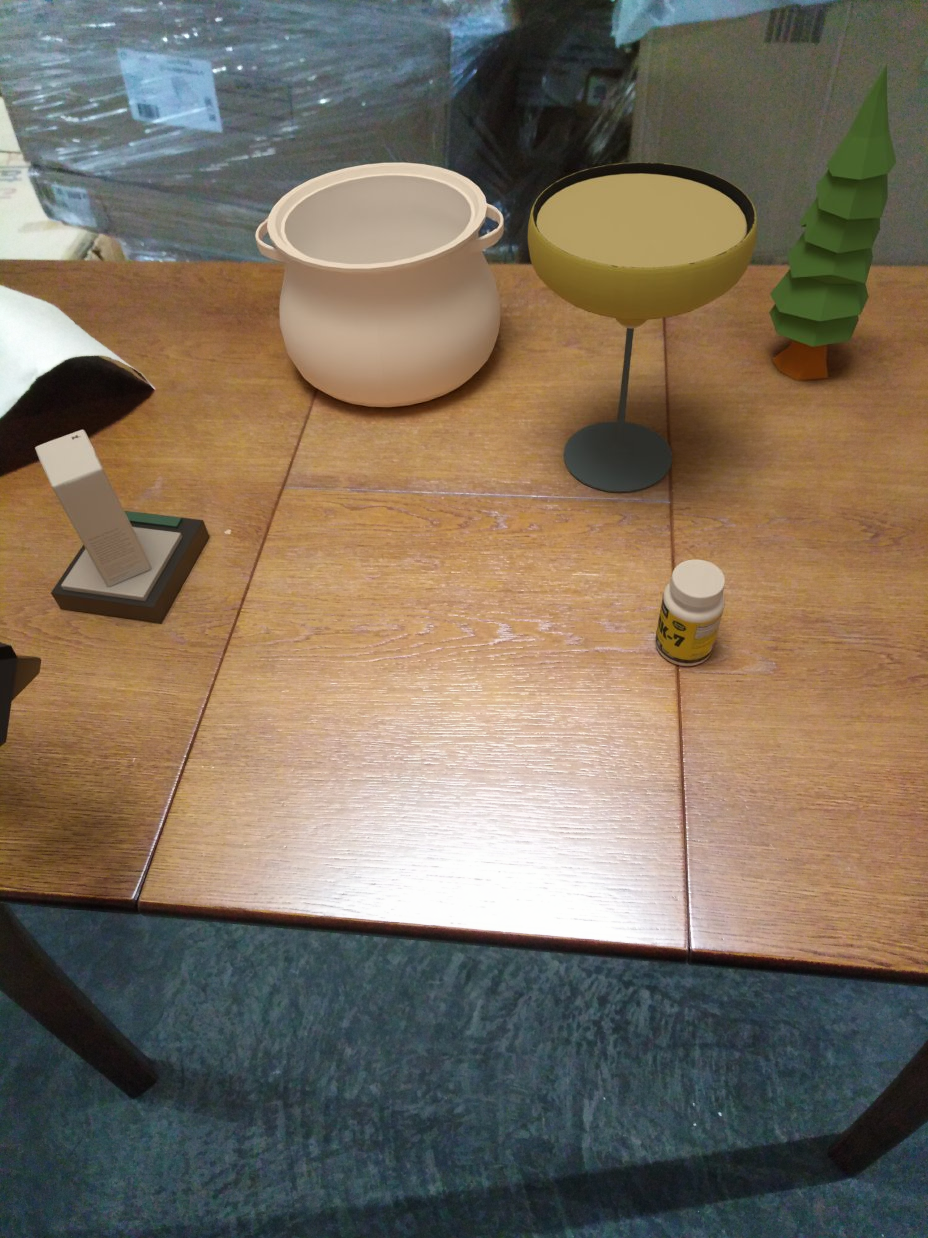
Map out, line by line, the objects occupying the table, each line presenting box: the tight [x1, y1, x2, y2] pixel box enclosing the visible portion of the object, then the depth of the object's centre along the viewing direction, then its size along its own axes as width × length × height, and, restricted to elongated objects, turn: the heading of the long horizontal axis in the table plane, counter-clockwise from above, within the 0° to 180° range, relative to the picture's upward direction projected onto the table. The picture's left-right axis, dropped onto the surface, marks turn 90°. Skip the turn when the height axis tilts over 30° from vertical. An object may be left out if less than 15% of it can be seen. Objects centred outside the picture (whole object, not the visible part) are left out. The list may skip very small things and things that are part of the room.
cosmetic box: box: [34, 429, 151, 587], centre depth 76 cm, size 6×4×12 cm
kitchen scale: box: [50, 510, 210, 624], centre depth 82 cm, size 10×11×3 cm
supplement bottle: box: [654, 558, 726, 667], centre depth 71 cm, size 5×5×8 cm
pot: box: [254, 162, 505, 408], centre depth 97 cm, size 26×24×17 cm
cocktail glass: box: [527, 161, 758, 493], centre depth 80 cm, size 18×18×25 cm
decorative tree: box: [769, 63, 897, 381], centre depth 87 cm, size 10×9×30 cm
